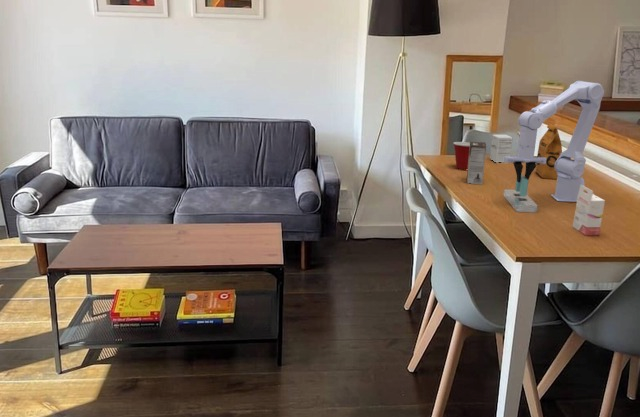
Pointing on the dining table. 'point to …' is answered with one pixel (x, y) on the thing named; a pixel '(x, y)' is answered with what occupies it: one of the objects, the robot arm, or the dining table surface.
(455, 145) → the plastic cup
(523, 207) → the white slotted slab
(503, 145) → the supplement box
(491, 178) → the dining table surface
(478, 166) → the coffee box
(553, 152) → the coffee package
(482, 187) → the dining table surface
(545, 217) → the dining table surface
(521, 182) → the teal rectangular plank
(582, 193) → the ink cartridge box
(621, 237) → the dining table surface
